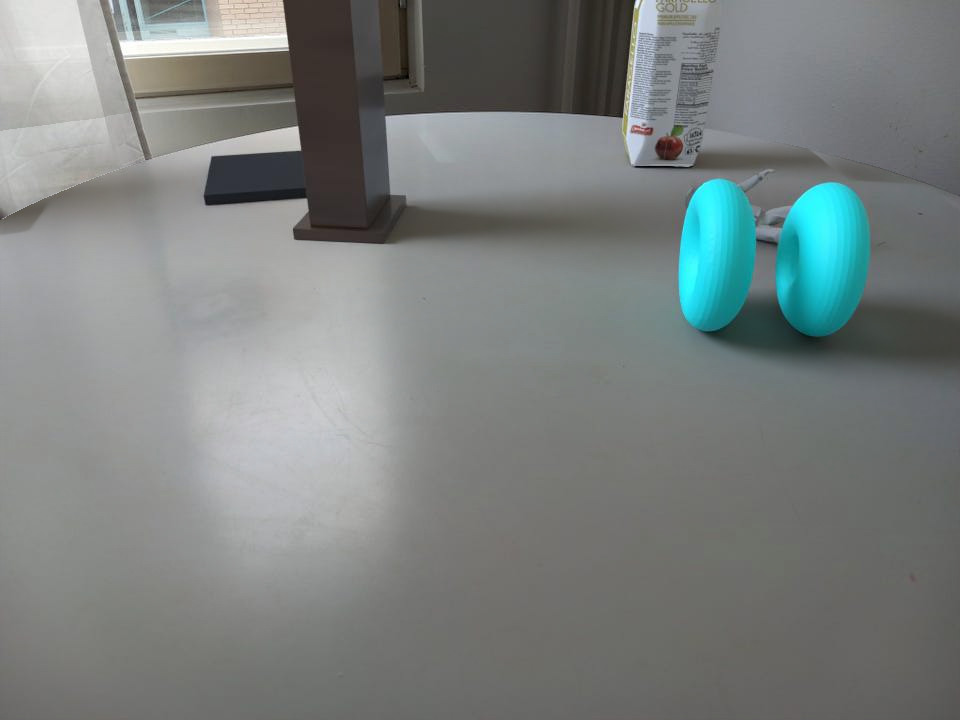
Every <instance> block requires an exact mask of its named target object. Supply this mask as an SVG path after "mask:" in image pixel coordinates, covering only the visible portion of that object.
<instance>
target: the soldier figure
mask: <svg viewBox="0 0 960 720" xmlns="http://www.w3.org/2000/svg"><path fill="white" fill-rule="evenodd" d="M773 172H774V173H776V172H777V171H776V170H775V169H773V168H767V169H766V168H765V169H764V170H763V171H760V172H759V173H756V174H755V175H753V176H752V177H749V178H747V179H746V180H743V181H742V182H740V183H736V185H737V186H738V187H740V188H741V189H742V191H743V192H744V193H745V194H746V192H749V191H750V190H752V189H753V188H754V187H755V186H757V184H759V183H760V182H761V181H762V180H763V179H769V177H768V176H767V175H768V174H769V173H773ZM699 187H700V186H698V185H695V184H691V187H690V188H689V190H688V191H687V193H686V197H685V199H684V205H685V208H686V210H687V209H688V206H689V203H690V201H691V198H692V196H693V195H694V193H695V192H696V190H697V189H698V188H699ZM748 200H749V203H750V205H751V208H752V211H753V215H754V220H755V229H756V241H757V240H758V241H764V242H772V243H776V244H778V242H779V238H780V234H781V231H782V228H783V227H773V226H776V225H778V224H780V223H784V222H785V220H786V217H787V215H788V214H789V212H790V210H791V208H792V207H793V205H786V206H785V205H784V206H779V207H774V208H771V209H769V210H767V211H766V210H765V211H763V210H762V209H763V208H762V207H761V206H758V205H755V204H751V199H750V198H748Z"/></svg>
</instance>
